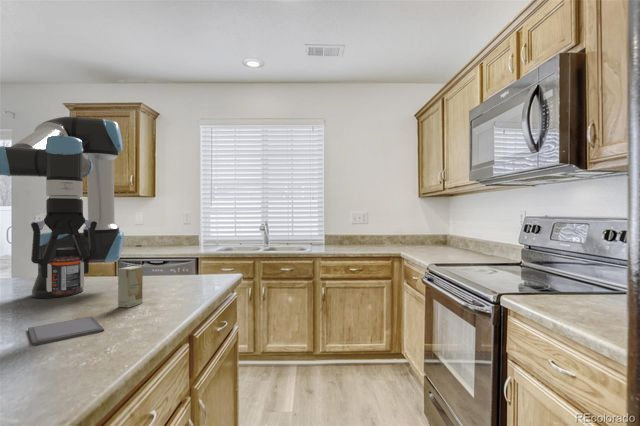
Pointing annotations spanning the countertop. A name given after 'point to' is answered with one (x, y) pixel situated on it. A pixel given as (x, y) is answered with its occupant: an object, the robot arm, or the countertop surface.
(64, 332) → the coaster
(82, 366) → the countertop surface
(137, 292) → the skincare box
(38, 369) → the countertop surface
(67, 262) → the supplement bottle
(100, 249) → the robot arm
